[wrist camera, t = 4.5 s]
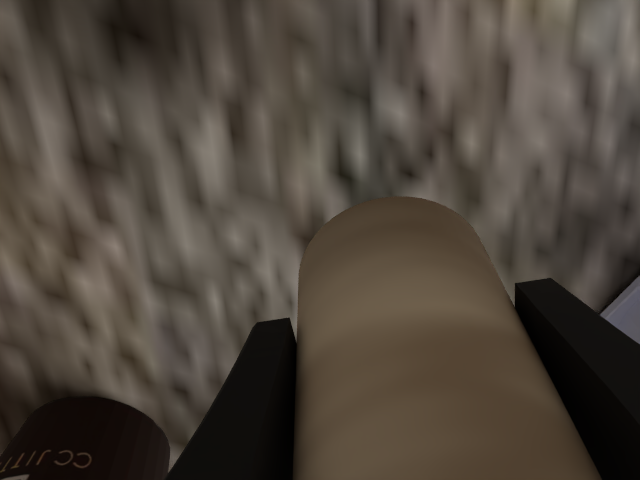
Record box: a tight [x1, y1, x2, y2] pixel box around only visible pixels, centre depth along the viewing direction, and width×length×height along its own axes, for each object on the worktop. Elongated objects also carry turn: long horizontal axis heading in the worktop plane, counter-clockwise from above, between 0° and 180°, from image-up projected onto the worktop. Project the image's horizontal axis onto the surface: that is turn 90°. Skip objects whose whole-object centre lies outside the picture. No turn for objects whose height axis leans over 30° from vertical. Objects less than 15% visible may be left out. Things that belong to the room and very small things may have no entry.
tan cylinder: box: [293, 196, 602, 480], centre depth 9 cm, size 4×4×7 cm
